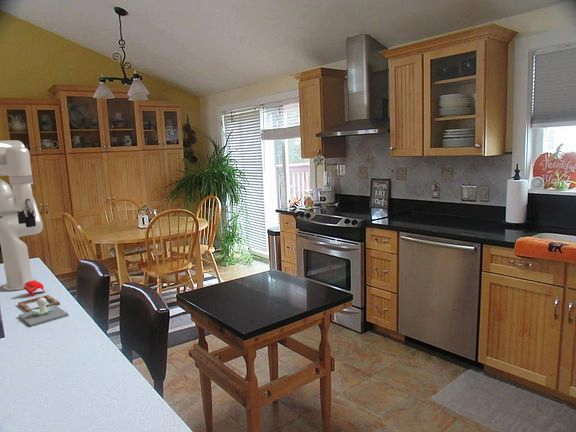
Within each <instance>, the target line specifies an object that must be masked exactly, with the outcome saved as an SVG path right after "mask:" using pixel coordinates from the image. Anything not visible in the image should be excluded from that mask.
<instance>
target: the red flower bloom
mask: <svg viewBox="0 0 576 432" xmlns="http://www.w3.org/2000/svg"><path fill="white" fill-rule="evenodd" d="M38 289H41V290H42V291H43V292H44V293H46V291H45V289H44V284H43V283H41V282H40V281H37V280H36V281H29V282H27V283H25V285H24V289H23V290H25V291H26V292H27V293H28V295H30V296H32V297H35V294H34V292H36V291H37V290H38Z"/></svg>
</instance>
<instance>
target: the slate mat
mask: <svg viewBox="0 0 576 432" xmlns="http://www.w3.org/2000/svg"><path fill="white" fill-rule="evenodd" d="M18 317H19V318H20V319H21V320H22V321H23V322H25V323H26V324H27V325H28V326H29V327H30V328H32V327H35V326H39V325H42V324H45V323H48V322H52V321H56V320H59V319H63V318H66V317H69V313H68V312H67V311H65V310H63V309H62V308H60V307H59V306H58V305H57V306H56V305H54V308H53V310H52V311H50V312H49V313H48V314H46V315H41V316H38V315H33V314H32V312H27V311H26V312H24V313H20V314H18Z"/></svg>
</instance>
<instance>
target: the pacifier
mask: <svg viewBox="0 0 576 432" xmlns="http://www.w3.org/2000/svg"><path fill="white" fill-rule="evenodd" d="M47 301H48V300H47V299H45V298H39V299H38V300H37V301H36V305H37V306H38V307H39V309H35V310H31V312H32V314H33V315H38V316H41V315H46V314H48V313H49V312H50V311H52V310H53V308H54V305H51V306H49V307H46V305H47Z"/></svg>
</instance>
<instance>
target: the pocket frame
mask: <svg viewBox="0 0 576 432" xmlns="http://www.w3.org/2000/svg"><path fill="white" fill-rule="evenodd" d="M39 298H45V299H46V301H49V302H51V303H48V304H47V303H46V307H49V306H51V305H56V306H57V307H58V306H60V305H61V302H60V301H59V300H57V299H55V298H54V297H52V296H50V295H49V294H46V295H43V296H39V297H35V298H30V299H26V300H23V301H19V302H17V304H18V306H20V308H22V309H23V310H24V311H26V313H27V312H31V310H35V309H39V306H37V307H33V308H31V307H29V306H28V305H27V304H32V303H35V302H37V300H38V299H39Z"/></svg>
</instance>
